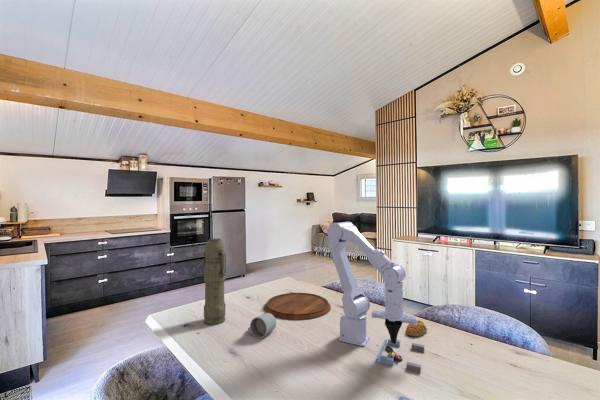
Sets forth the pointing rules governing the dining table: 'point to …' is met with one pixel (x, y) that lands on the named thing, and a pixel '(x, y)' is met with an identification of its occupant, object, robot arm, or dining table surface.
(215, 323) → the thermos
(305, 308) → the cutting board
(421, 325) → the pastry
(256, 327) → the ceramic mug
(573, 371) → the dining table surface
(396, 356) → the composite cable
